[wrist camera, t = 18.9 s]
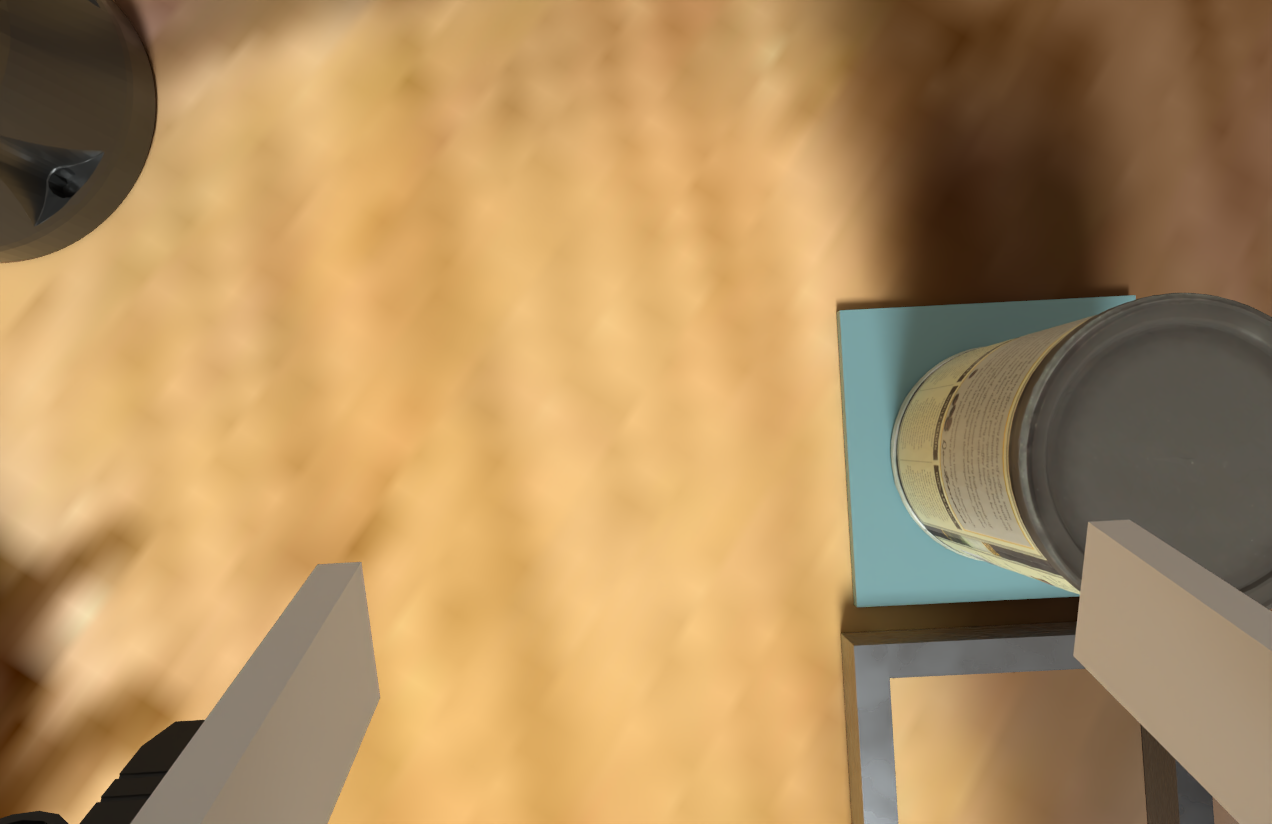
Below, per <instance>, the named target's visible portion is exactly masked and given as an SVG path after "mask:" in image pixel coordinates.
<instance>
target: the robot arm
mask: <svg viewBox="0 0 1272 824" xmlns="http://www.w3.org/2000/svg"><path fill="white" fill-rule="evenodd" d="M155 112H156V100H155V87H154V81H153V75H152V71H151V67H150V63H149V60H148V57H147V54H146V52H145V49H144V46H143V44H142V42H141V40H140V38H139V36H138V34H137V32H136V31H135V29H134V27H133V26H132V24H131V23H130V21H129V20H128V18H127V17H126V16H125V14H124V13H123V12H122V11H121V9H120V8H119V7H118V6H117V5H116V4H115V3H114V2H113V1H112V0H0V263H10V262H19V261H25V260H30V259H34V258H38V257H42V256H45V255H48V254H51V253H53V252H56V251H58V250H61V249H63V248H65V247H67V246H69V245H71V244H73V243H75V242H76V241H78V240H80V239H81V238H83V237H84V236H86V235H87V234H89V233H90V232H92V231H93V230H94V229H95V228H97V227H98V226H99V225H100V224H102V223H103V222H104V221H105V220H106V219H107V218H108V217H109V216H110V215H111V214H112V213H113V212H114V211H115V210H116V209H117V207H118V206H119V205H120V204H121V202H122V201H123V200H124V199H125V197H126V196H127V194H128V193H129V191H130V190H131V188H132V187H133V185H134V183H135V182H136V180H137V178H138V176H139V174H140V172H141V170H142V168H143V165H144V163H145V160H146V158H147V155H148V151H149V148H150V145H151V140H152V136H153V130H154V124H155ZM1073 656H1074V657H1075V658H1076V659H1077V660H1078V661H1079V662H1080V663H1081V664H1082V665H1083V666H1084V667H1085V668H1086V669H1087V670H1088V671H1089V672H1090V673H1091V674H1092V675H1093V676H1094V677H1095V678H1096V679H1097V680H1098V681H1099V682H1100V683H1101V684H1102V685H1103V686H1104V687H1105V688H1106V689H1107V690H1108V691H1109V692H1110V693H1111V694H1112V695H1113V697H1114V698H1115V699H1116V700H1117V701H1118V702H1119V703H1120V704H1121V705H1122V706H1123V707H1124V708H1125V709H1126V710H1127V711H1128V712H1129V713H1130V714H1131V715H1132V716H1133V717H1134V718H1135V719H1136V720H1137V721H1138V722H1139V723H1140V724H1141V725H1142V726H1143V727H1144V728H1145V729H1146V730H1147V731H1148V732H1149V733H1150V734H1151V735H1152V736H1153V737H1154V738H1155V739H1156V740H1157V741H1158V742H1159V743H1160V744H1161V745H1162V746H1163V747H1164V748H1165V749H1166V750H1167V751H1168V752H1169V753H1170V754H1171V755H1172V756H1173V757H1174V758H1175V759H1176V760H1177V761H1178V762H1179V763H1180V764H1181V765H1182V766H1183V767H1184V768H1185V769H1186V770H1187V771H1188V772H1189V773H1190V774H1191V775H1192V776H1193V777H1194V778H1195V779H1196V780H1197V781H1198V782H1199V783H1200V784H1201V785H1202V786H1203V787H1204V788H1205V789H1206V790H1207V791H1208V792H1209V793H1210V794H1211V795H1212V796H1213V797H1214V799H1215V800H1216V801H1217V802H1218V803H1219V804H1220V805H1221V806H1222V807H1223V808H1224V809H1225V810H1226V811H1227V812H1228V813H1229V814H1230V815H1231V816H1232V817H1233V818H1234V819H1235V820H1236V821H1237V822H1238V823H1239V824H1272V611H1270V610H1269V609H1267V608H1265V607H1264V606H1262V605H1261V604H1259V603H1258V602H1256V601H1255V600H1253V599H1252V598H1250V597H1248V596H1247V595H1245V594H1244V593H1242V592H1241V591H1239V590H1238V589H1236V588H1235V587H1233V586H1231V585H1230V584H1228V583H1227V582H1225V581H1224V580H1222V579H1221V578H1219V577H1218V576H1216V575H1214V574H1213V573H1211V572H1210V571H1208V570H1207V569H1205V568H1204V567H1202V566H1201V565H1199V564H1197V563H1196V562H1194V561H1193V560H1191V559H1190V558H1188V557H1187V556H1185V555H1183V554H1182V553H1180V552H1179V551H1177V550H1176V549H1174V548H1173V547H1171V546H1170V545H1168V544H1166V543H1165V542H1163V541H1162V540H1160V539H1159V538H1157V537H1156V536H1154V535H1153V534H1151V533H1149V532H1148V531H1146V530H1145V529H1143V528H1142V527H1140V526H1139V525H1137V524H1136V523H1134V522H1132V521H1131V520H1112V521H1094V522H1088V528H1087V537H1086V546H1085V555H1084V564H1083V573H1082V582H1081V591H1080V599H1079V608H1078V617H1077V626H1076V635H1075V644H1074V653H1073ZM379 699H380V693H379V685H378V678H377V671H376V664H375V657H374V650H373V642H372V635H371V628H370V621H369V614H368V607H367V599H366V592H365V585H364V578H363V571H362V564H361V562H352V563H334V564H318V565H317V566H316V567H315V569H314V570H313V572H312V573H311V574H310V576H309V577H308V578H307V580H306V581H305V583H304V584H303V585H302V587H301V588H300V590H299V591H298V592H297V594H296V595H295V596H294V598H293V599H292V601H291V602H290V603H289V605H288V606H287V608H286V609H285V610H284V612H283V613H282V614H281V616H280V617H279V619H278V620H277V621H276V623H275V624H274V626H273V627H272V628H271V630H270V631H269V632H268V634H267V635H266V637H265V638H264V639H263V641H262V642H261V643H260V645H259V646H258V648H257V649H256V650H255V652H254V653H253V655H252V656H251V657H250V659H249V660H248V661H247V663H246V664H245V666H244V667H243V668H242V670H241V671H240V673H239V674H238V675H237V677H236V678H235V679H234V681H233V682H232V684H231V685H230V686H229V688H228V689H227V691H226V692H225V693H224V695H223V696H222V697H221V699H220V700H219V702H218V703H217V704H216V706H215V707H214V708H213V710H212V711H211V713H210V714H209V715H208V717H207V718H206V720H195V721H179V722H174V723H173V724H172V725H170V726H169V727H167V728H166V729H165V730H163V731H162V732H161V733H159V734H158V735H156V736H155V737H154V738H152V739H151V740H150V741H148V742H147V743H145V744H144V745H143V746H141V748H140V749H139V750H138V751H137V753H136V754H135V755H134V756H133V758H132V759H131V760H130V761H129V763H128V764H127V765H126V766H125V768H124V769H123V770H122V771H121V773H120V777H119V779H115V780H114V781H113V783H112V784H111V785H110V786H109V788H108V789H107V790H106V791H105V793H104V794H103V795H102V796H101V802H98V803H96V804H95V805H94V806H93V808H92V809H91V810H90V811H89V813H88V814H87V815H86V816H85V818H84V819H83V820H82V821H81V823H80V824H327V823H328V821H329V819H330V816H331V814H332V811H333V809H334V807H335V804H336V802H337V799H338V797H339V795H340V792H341V790H342V788H343V785H344V783H345V780H346V778H347V776H348V773H349V771H350V768H351V766H352V764H353V761H354V759H355V756H356V754H357V752H358V749H359V747H360V745H361V742H362V740H363V737H364V735H365V733H366V730H367V728H368V725H369V723H370V721H371V718H372V716H373V713H374V711H375V709H376V706H377V704H378V702H379ZM0 824H68V823H67V822H66V821H65V820H64V819H63V818H62V817H61V816H60V815H59V814H54V813H48V812H42V811H35V812H28V813H21V814H13V815H10V816H7V817H4V818H1V819H0Z"/></svg>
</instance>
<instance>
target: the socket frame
mask: <svg viewBox="0 0 1272 824" xmlns="http://www.w3.org/2000/svg"><path fill="white" fill-rule="evenodd" d="M1076 626H1077V621H1076V622H1056V623H1035V624H1015V625H995V626H974V627H954V628H934V629H913V630H893V631H873V632H852V633H841V646H842V664H843V681H844V698H845V715H846V732H847V750H848V767H849V784H850V801H851V818H852V824H898V811H897V795H896V778H895V761H894V745H893V728H892V711H891V695H890V678H902V677H922V676H943V675H963V674H984V673H1004V672H1025V671H1045V670H1066V669H1086V668H1085V667H1084V666H1083V665H1082V664H1081V663H1080V662H1079V661H1078V660H1077V659H1076V658H1075V657H1074V656H1073V653H1074V644H1075V635H1076ZM1141 730H1142V745H1143V759H1144V773H1145V788H1146V802H1147V816H1148V824H1214V815H1213V801H1212V795H1211V794H1210V793H1209V792H1208V791H1207V790H1206V789H1205V788H1204V787H1203V786H1202V785H1201V784H1200V783H1199V782H1198V781H1197V780H1196V779H1195V778H1194V777H1193V776H1192V775H1191V774H1190V773H1189V772H1188V771H1187V770H1186V769H1185V768H1184V767H1183V766H1182V765H1181V764H1180V763H1179V762H1178V761H1177V760H1176V759H1175V758H1174V757H1173V756H1172V755H1171V754H1170V753H1169V752H1168V751H1167V750H1166V749H1165V748H1164V747H1163V746H1162V745H1161V744H1160V743H1159V742H1158V741H1157V740H1156V739H1155V738H1154V737H1153V736H1152V735H1151V734H1150V733H1149V732H1148V731H1147V730H1146V729H1145V728H1144V727H1143V726H1142V725H1141Z"/></svg>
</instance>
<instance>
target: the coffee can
mask: <svg viewBox="0 0 1272 824" xmlns="http://www.w3.org/2000/svg"><path fill="white" fill-rule="evenodd" d="M891 465H892V471H893V476H894V482H895V486H896V488H897V490H898V492H899V495H900V497H901V500H902V502H903V504H904V506H905V507H906V509H907V511H908V512H909V514H910V516H911V517H912V518H913V520H914V521H915V522H916V523H917V524H918V526H919V527H920V528H921V529H922V530H923V531H924V532H925V533H926V534H927V535H929V536H930V537H931V538H932V539H933V540H935V541H936V542H937V543H939V544H940V545H942V546H943V547H945V548H946V549H949V550H951V551H953V552H955V553H957V554H960V555H962V556H965V557H968V558H972V559H975V560H979V561H985V562H988V563H990V564H993V565H996V566H999V567H1001V568H1004V569H1008V570H1011V571H1014V572H1017V573H1020V574H1022V575H1025V576H1028V577H1031V578H1034V579H1037V580H1039V581H1042V582H1044V583H1047V584H1050V585H1052V586H1056V587H1058V588H1061V589H1064V590H1067V591H1069V592H1073V593H1076V594H1079V595H1080V591H1081V582H1082V573H1083V564H1084V555H1085V546H1086V537H1087V528H1088V522H1094V521H1112V520H1131V521H1132V522H1134V523H1136V524H1137V525H1139V526H1140V527H1142V528H1143V529H1145V530H1146V531H1148V532H1149V533H1151V534H1153V535H1154V536H1156V537H1157V538H1159V539H1160V540H1162V541H1163V542H1165V543H1166V544H1168V545H1170V546H1171V547H1173V548H1174V549H1176V550H1177V551H1179V552H1180V553H1182V554H1183V555H1185V556H1187V557H1188V558H1190V559H1191V560H1193V561H1194V562H1196V563H1197V564H1199V565H1201V566H1202V567H1204V568H1205V569H1207V570H1208V571H1210V572H1211V573H1213V574H1214V575H1216V576H1218V577H1219V578H1221V579H1222V580H1224V581H1225V582H1227V583H1228V584H1230V585H1231V586H1233V587H1235V588H1236V589H1238V590H1239V591H1241V592H1242V593H1244V594H1245V595H1247V596H1248V597H1250V598H1252V599H1253V600H1255V601H1256V602H1258V603H1259V604H1261V605H1262V606H1264V607H1265V608H1267V609H1271V608H1272V317H1270V316H1268V315H1267V314H1265V313H1263V312H1261V311H1259V310H1257V309H1255V308H1252V307H1250V306H1248V305H1245V304H1242V303H1239V302H1237V301H1233V300H1229V299H1225V298H1221V297H1218V296H1212V295H1207V294H1196V293H1170V294H1162V295H1153V296H1149V297H1144V298H1140V299H1136V300H1133V301H1130V302H1126V303H1124V304H1121V305H1118V306H1116V307H1113V308H1110V309H1108V310H1106V311H1104V312H1102V313H1100V314H1098V315H1095V316H1091V317H1087V318H1084V319H1080V320H1077V321H1073V322H1070V323H1066V324H1063V325H1060V326H1056V327H1053V328H1049V329H1046V330H1042V331H1039V332H1035V333H1032V334H1028V335H1025V336H1021V337H1018V338H1014V339H1010V340H1007V341H1004V342H1001V343H997V344H993V345H990V346H986V347H979V348H973V349H969V350H966V351H963V352H960V353H958V354H955V355H953V356H951V357H949V358H947V359H945V360H943V361H942V362H940V363H939V364H937V365H936V366H935V367H933V368H932V369H931V370H929V371H928V372H927V373H926V374H925V375H924V376H923V377H922V378H921V379H920V380H919V381H918V382H917V383H916V384H915V385H914V387H913V388H912V389H911V391H910V392H909V393H908V395H907V396H906V398H905V399H904V401H903V403H902V405H901V408H900V410H899V413H898V416H897V418H896V421H895V424H894V428H893V433H892V439H891Z"/></svg>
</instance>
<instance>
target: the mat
mask: <svg viewBox="0 0 1272 824" xmlns="http://www.w3.org/2000/svg"><path fill="white" fill-rule="evenodd" d="M1133 300H1136V298H1135V295H1131V296H1111V297H1092V298H1072V299H1053V300H1033V301H1014V302H995V303H975V304H956V305H936V306H917V307H897V308H878V309H859V310H840V311H838V312H837V327H838V344H839V361H840V378H841V395H842V412H843V429H844V446H845V463H846V480H847V497H848V514H849V531H850V548H851V565H852V582H853V599H854V605H855V606H856V607H874V606H894V605H914V604H935V603H955V602H975V601H995V600H1016V599H1036V598H1056V597H1076V596H1080V595H1079V594H1076V593H1073V592H1069V591H1067V590H1064V589H1061V588H1058V587H1056V586H1052V585H1050V584H1047V583H1044V582H1042V581H1039V580H1037V579H1034V578H1031V577H1028V576H1025V575H1022V574H1020V573H1017V572H1014V571H1011V570H1008V569H1004V568H1001V567H999V566H996V565H993V564H990V563H988V562H985V561H979V560H975V559H972V558H968V557H965V556H962V555H960V554H957V553H955V552H953V551H951V550H949V549H946V548H945V547H943V546H942V545H940V544H939V543H937V542H936V541H935V540H933V539H932V538H931V537H930V536H929V535H927V534H926V533H925V532H924V531H923V530H922V529H921V528H920V527H919V526H918V524H917V523H916V522H915V521H914V520H913V518H912V517H911V516H910V514H909V512H908V511H907V509H906V507H905V506H904V504H903V502H902V500H901V497H900V495H899V492H898V490H897V488H896V486H895V482H894V476H893V471H892V465H891V439H892V433H893V428H894V424H895V421H896V418H897V416H898V413H899V410H900V408H901V405H902V403H903V401H904V399H905V398H906V396H907V395H908V393H909V392H910V391H911V389H912V388H913V387H914V385H915V384H916V383H917V382H918V381H919V380H920V379H921V378H922V377H923V376H924V375H925V374H926V373H927V372H928V371H929V370H931V369H932V368H933V367H935V366H936V365H937V364H939V363H940V362H942V361H943V360H945V359H947V358H949V357H951V356H953V355H955V354H958V353H960V352H963V351H966V350H969V349H973V348H979V347H986V346H990V345H993V344H997V343H1001V342H1004V341H1007V340H1010V339H1014V338H1018V337H1021V336H1025V335H1028V334H1032V333H1035V332H1039V331H1042V330H1046V329H1049V328H1053V327H1056V326H1060V325H1063V324H1066V323H1070V322H1073V321H1077V320H1080V319H1084V318H1087V317H1091V316H1095V315H1098V314H1100V313H1102V312H1104V311H1106V310H1108V309H1110V308H1113V307H1116V306H1118V305H1121V304H1124V303H1126V302H1130V301H1133Z"/></svg>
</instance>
